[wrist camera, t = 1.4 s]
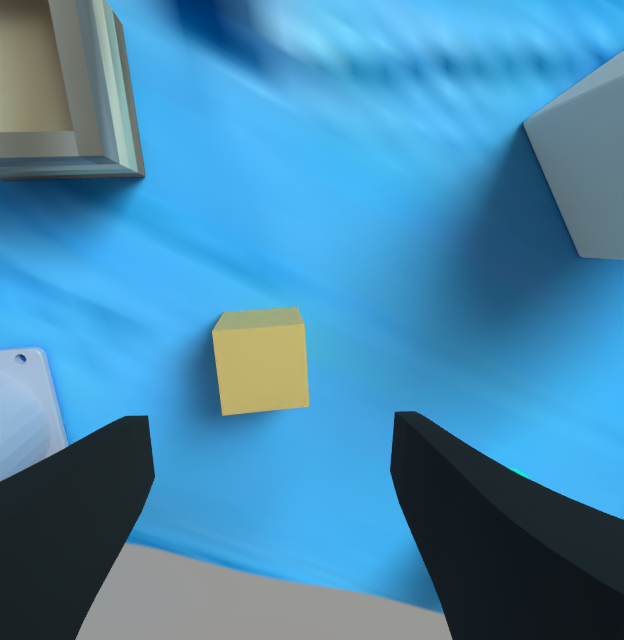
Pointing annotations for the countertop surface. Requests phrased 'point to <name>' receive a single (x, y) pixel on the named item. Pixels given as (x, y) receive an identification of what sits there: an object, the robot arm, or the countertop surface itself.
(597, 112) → the soap bottle
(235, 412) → the ochre block
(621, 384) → the countertop surface
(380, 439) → the countertop surface
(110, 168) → the tower base
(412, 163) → the countertop surface
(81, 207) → the countertop surface
